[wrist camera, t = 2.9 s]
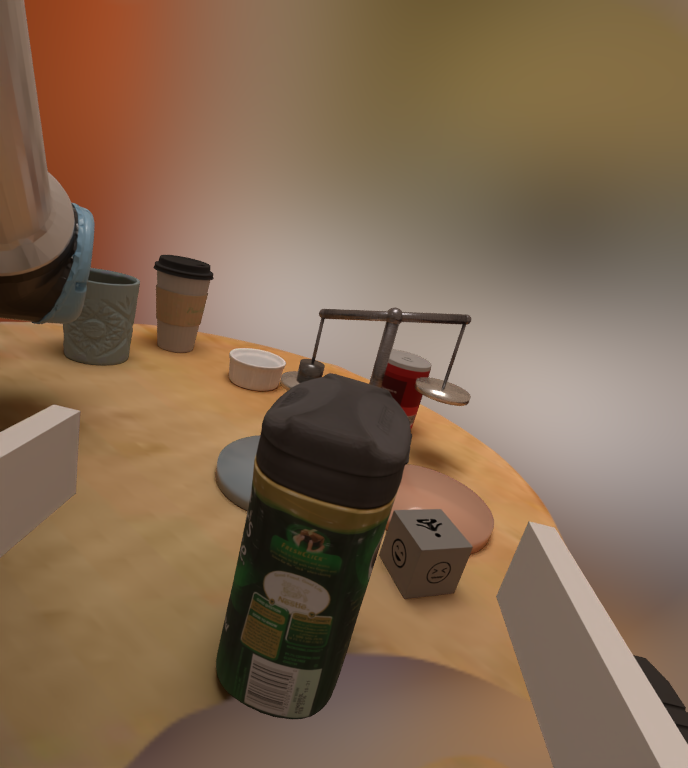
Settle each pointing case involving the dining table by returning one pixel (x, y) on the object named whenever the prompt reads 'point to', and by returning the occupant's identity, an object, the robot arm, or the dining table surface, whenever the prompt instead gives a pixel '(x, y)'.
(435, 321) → the balance
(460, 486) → the terracotta dish
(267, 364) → the ramekin
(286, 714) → the coffee jar
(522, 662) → the robot arm
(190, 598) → the dining table surface
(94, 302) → the grey-green ceramic planter
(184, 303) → the coffee cup
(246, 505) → the slate dish
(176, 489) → the dining table surface
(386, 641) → the dining table surface
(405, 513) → the dice cube
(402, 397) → the canned food
